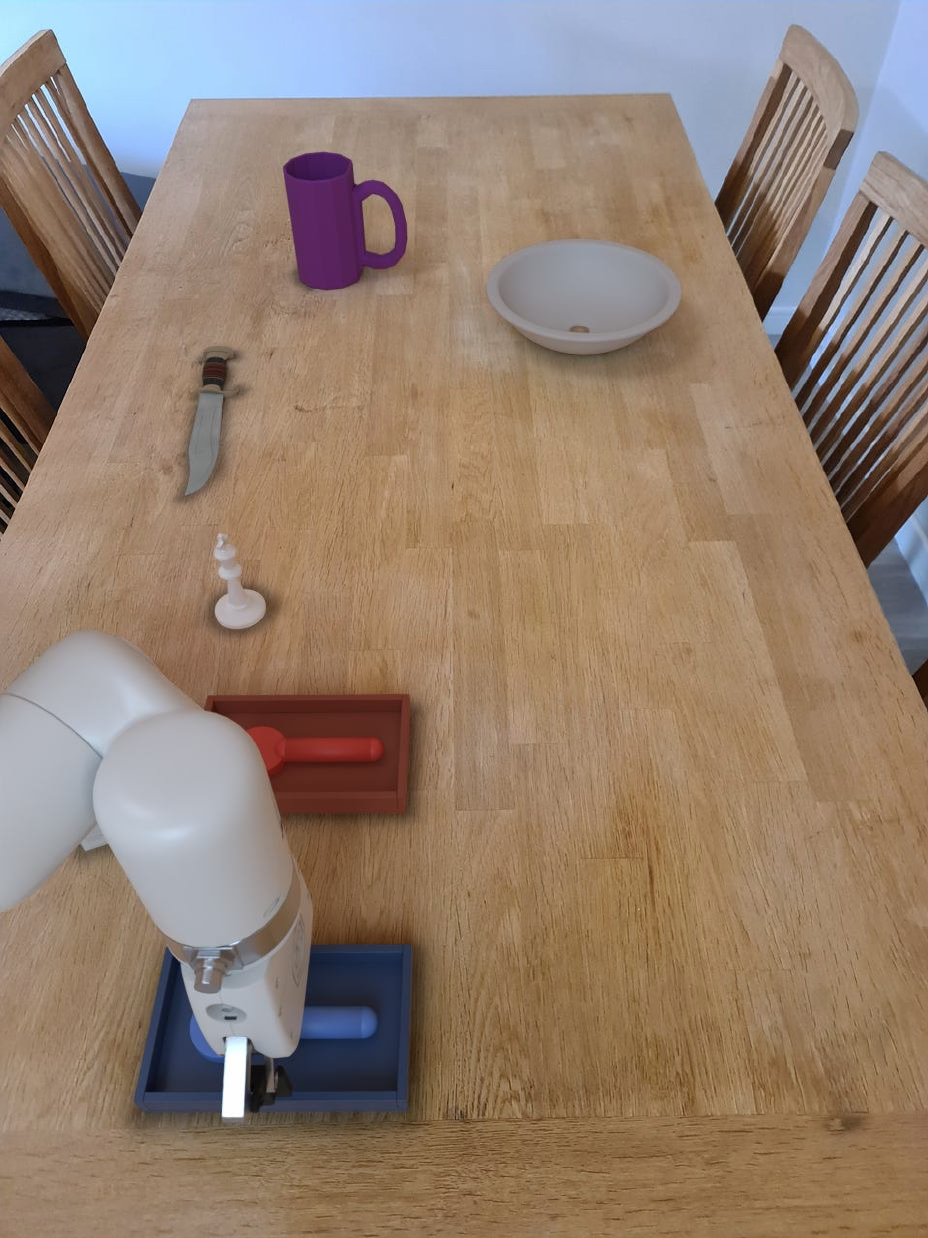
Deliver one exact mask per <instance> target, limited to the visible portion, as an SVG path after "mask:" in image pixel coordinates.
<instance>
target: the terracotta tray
mask: <svg viewBox="0 0 928 1238" xmlns="http://www.w3.org/2000/svg"><path fill="white" fill-rule="evenodd" d="M410 696H411V695H410V694H409V693H354V694H353V693H351V694H348V693H347V694H344V693H343V694H342V693H341V694H332V693H331V694H233V695H232V694H227V695H226V694H223V695H222V694H217V695H214V694H209V695H207V697H206V701H205V706H204V710H205V711H209V712H213V713H217V714H220V715H222V716H224V717H227V718H229V719H230V720H232V721H233V722H235V723H236V724H238V725H239V726H241V727H242V728H243V729H244V730H245V731H246V730H248V729H251V728H254V727H260V726H265V727H271V728H274V729H276V730H278V731H279V732H280V733H281V734H282V735H283V736H284V738H338V737H374V738H377V739H379V740H380V741H381V742H382V743H383V746H384V753H383V755H382V757H381V758H380V759H379V760H377V761H375V762H287V763H286V765H285V766H284V768H283V769H282V770H281V771H280V772H279V773H277V774H276V775H274V776H273V777H270V778H269V780H270V784H271V787H272V790H273V794H274V797H275V800H276V804H277V807H278V810H279V814H280V815H317V814H320V815H321V814H322V815H324V814H325V815H329V814H333V815H334V814H335V815H336V814H406V813H407V805H408V803H407V802H408V781H409V780H408V779H409V762H410V761H409V759H410V737H411V713H412V709H411V697H410Z"/></svg>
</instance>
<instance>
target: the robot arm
mask: <svg viewBox="0 0 928 1238" xmlns="http://www.w3.org/2000/svg"><path fill="white" fill-rule="evenodd" d="M97 824H98V825H99V827H100V829H101V832H102V834H103V836H104V837H105V839H106V841H107V843H108V844H107V845H108V846H109V847H110V849H111V851H112V853H113V855H114V856H115V859H116V860H117V862H118V863H119V865H120V867H121V868H122V870H123V872H124V873H125V875H126V877H127V879H128V881H129V883H130V884H131V885H132V887H133V889H134V891H135V893H136V894H137V896H138V898H139V900H140V901H141V903H142V905H143V906H144V909H145V910H146V912H147V914H148V916H149V917H150V919H151V921H152V922H153V924H154V926H155V928H156V929H157V931H158V932H159V934H160V936H161V938H162V940H163V942H164V943H165V945H166V946H167V947H168V948H169V950H170V951H171V953H172V954H173V955H174V956H175V957H176V958H177V960H178V961H180V962H181V971H182V976H183V980H184V984H185V988H186V991H187V994H188V998H189V1001H190V1004H191V1007H192V1010H193V1013H194V1015H195V1018H196V1021H197V1023H198V1025H199V1027H200V1030H201V1032H202V1034H203V1035H204V1037H205V1039H206V1041H207V1042H208V1044H209V1045H210V1047H211V1048H212V1049H213V1050H214V1051H215V1052H216V1053H217V1054H218V1055H219V1056H221V1057H224V1055H225V1062H224V1081H223V1101H222V1112H221V1123H223V1124H232V1123H233V1124H241V1123H242V1124H245V1123H247V1122H248V1120H250V1118H251V1117H252V1115H253V1114H257V1113H260V1112H259V1110H260V1107H262V1106H270V1105H274V1104H275V1097H291V1096H292V1088H293V1086H292V1084H291V1082H290V1080H289V1078H288V1076H287V1074H286V1071H285V1069H284V1067H283V1066H281V1065H278V1058H281V1057H289V1056H290V1055H291V1054H292V1053H293V1052H294V1051H295V1049H296V1048H297V1046H298V1043H299V1039H300V1033H301V1027H302V1019H303V1011H304V1002H305V993H306V985H307V976H308V966H309V957H310V947H311V945H312V934H313V922H314V908H313V907H314V906H313V901H312V898H311V894H310V892H309V889H308V886H307V883H306V880H305V878H304V875H303V872H302V871H301V869H300V866H299V864H298V862H297V860H296V858H295V856H294V855H293V853H292V851H291V847H290V845H289V842H288V841H289V840H288V838H287V834H286V831H285V827H284V824H283V821H282V817H281V814H279V810H278V807H277V804H276V800H275V797H274V794H273V790H272V787H271V784H270V780H269V777H268V773H267V770H266V767H265V764H264V761H263V758H262V756H261V753H260V751H259V749H258V747H257V745H256V743H255V742H254V740H253V739H252V738H251V736H250V735H249V734H248V733H247V732H246V731H245V730H244V729H243V728H242V727H241V726H239V725H238V724H236V723H235V722H233V721H232V720H230V719H229V718H227V717H224V716H222V715H220V714H217V713H213V712H209V711H205V708H203V707H202V706H200V705H199V704H198V703H197V702H195V701H194V699H192V698H191V697H190V696H189V695H187V693H185V692H183V691H182V690H181V689H180V688H179V687H178V686H177V685H175V684H174V683H173V681H171V680H170V679H169V678H167V676H165V675H164V674H163V673H162V671H161V670H160V669H159V667H158V666H157V665H156V664H155V662H154V661H153V659H152V658H150V656H149V655H148V654H147V653H146V652H145V651H144V650H143V649H141V648H140V647H139V646H138V645H136V644H135V643H133V642H132V641H130V640H128V639H127V638H125V637H122V636H119V635H118V636H117V635H111V634H110V633H107V632H105V631H102V630H98V629H91V628H83V629H78V630H75V631H72V632H70V633H68V634H66V635H64V636H63V637H61V638H60V639H58V640H57V641H55V642H54V643H53V644H52V645H50V646H49V647H48V648H46V650H45V651H44V652H43V653H42V654H41V655H39V656H38V657H37V658H36V659H35V660H34V661H33V662H32V663H31V664H30V665H28V667H27V668H26V669H25V670H24V671H23V672H21V673H20V674H19V675H18V676H17V677H16V678H15V679H14V680H13V681H12V682H11V683H10V684H8V685H7V686H6V688H5V689H4V690H2V691H1V692H0V914H1V913H5V912H8V911H10V910H12V909H15V908H16V907H18V906H20V905H21V904H23V903H25V902H26V901H27V900H28V899H29V898H31V897H32V896H33V895H34V894H35V893H36V892H37V891H38V890H39V889H41V887H42V886H43V885H44V884H45V883H46V882H47V881H48V880H49V879H50V877H51V876H52V875H53V874H55V872H56V871H57V870H58V869H59V867H61V865H62V864H63V863H64V862H65V861H66V860H67V859H68V858H69V856H71V854H72V853H73V852H74V851H75V850H76V849H77V848H78V847H79V846H80V845H81V844H80V843H81V842H82V841H83V840H84V838H85V837H86V836H87V835H88V834H89V833H90V832H91V830H92V829H93V828H94V827H95V826H96V825H97ZM251 1054H264V1065H251Z"/></svg>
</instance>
